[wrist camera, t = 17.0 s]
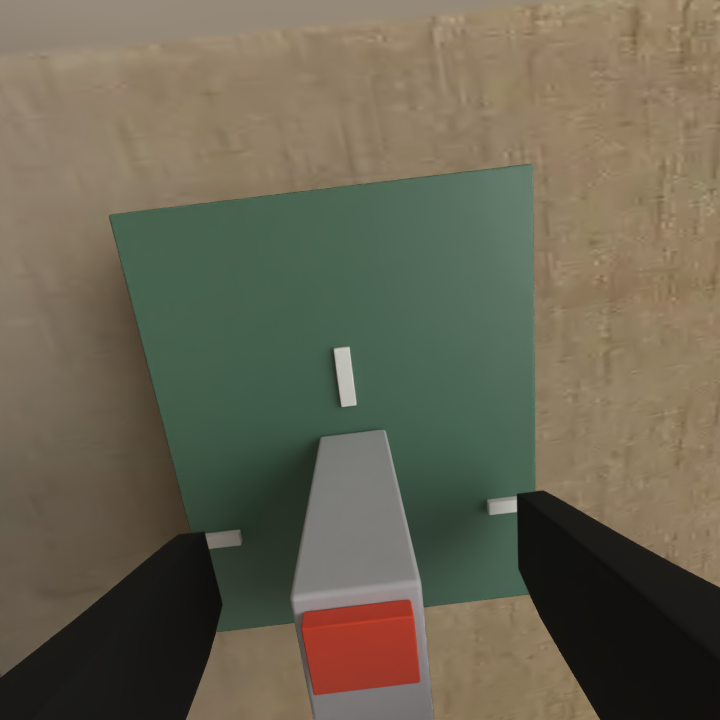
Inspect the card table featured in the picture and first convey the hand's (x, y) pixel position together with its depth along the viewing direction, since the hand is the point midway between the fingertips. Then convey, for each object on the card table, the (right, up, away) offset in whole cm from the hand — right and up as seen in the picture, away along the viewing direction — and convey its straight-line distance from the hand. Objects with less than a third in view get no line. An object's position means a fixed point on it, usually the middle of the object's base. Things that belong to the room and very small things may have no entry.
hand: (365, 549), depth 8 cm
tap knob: (0, 0, +1) cm, 1 cm away
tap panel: (0, +3, +3) cm, 5 cm away
